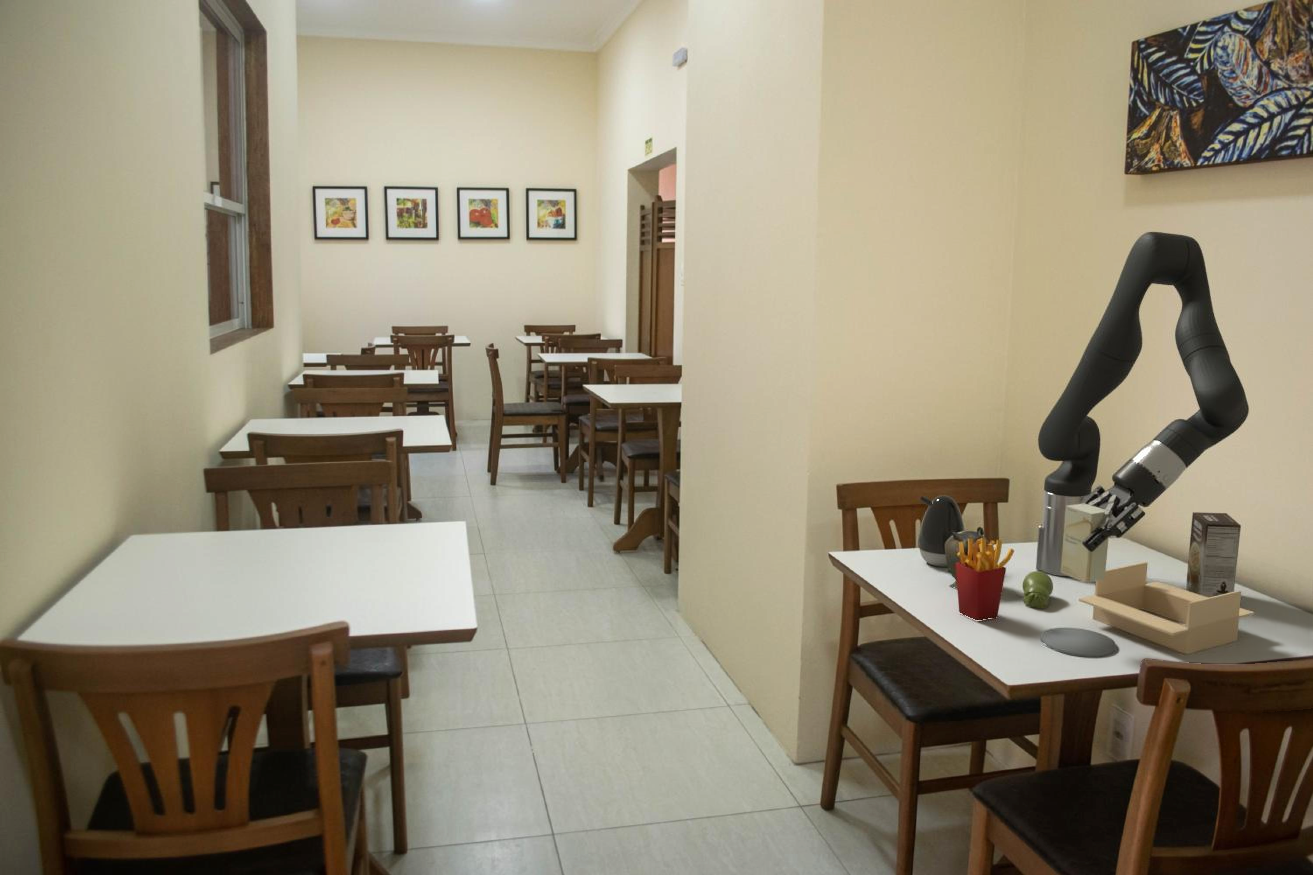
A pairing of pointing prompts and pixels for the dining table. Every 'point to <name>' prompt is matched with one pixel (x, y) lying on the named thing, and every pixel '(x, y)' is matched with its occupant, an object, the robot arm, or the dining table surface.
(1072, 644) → the coaster
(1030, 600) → the pear
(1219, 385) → the robot arm
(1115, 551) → the dining table surface
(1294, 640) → the dining table surface
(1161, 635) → the carton
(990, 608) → the french fries
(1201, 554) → the coffee box
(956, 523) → the dark grey rounded figure
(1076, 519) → the skincare box
